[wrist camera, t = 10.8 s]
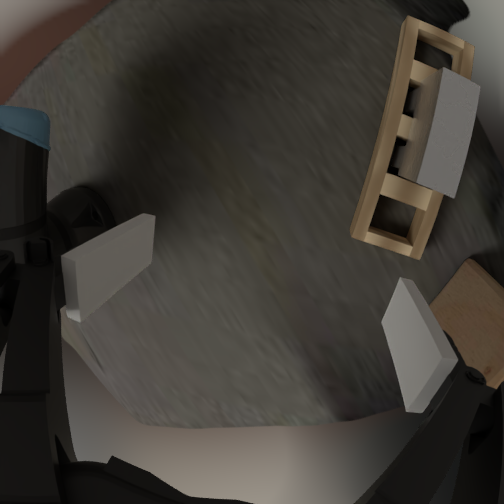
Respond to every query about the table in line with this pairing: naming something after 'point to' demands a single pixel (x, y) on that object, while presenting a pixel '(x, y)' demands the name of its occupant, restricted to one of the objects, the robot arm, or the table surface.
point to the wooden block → (474, 319)
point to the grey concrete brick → (438, 131)
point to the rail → (399, 127)
